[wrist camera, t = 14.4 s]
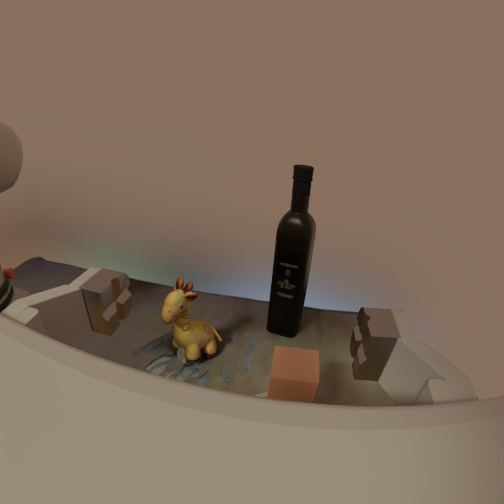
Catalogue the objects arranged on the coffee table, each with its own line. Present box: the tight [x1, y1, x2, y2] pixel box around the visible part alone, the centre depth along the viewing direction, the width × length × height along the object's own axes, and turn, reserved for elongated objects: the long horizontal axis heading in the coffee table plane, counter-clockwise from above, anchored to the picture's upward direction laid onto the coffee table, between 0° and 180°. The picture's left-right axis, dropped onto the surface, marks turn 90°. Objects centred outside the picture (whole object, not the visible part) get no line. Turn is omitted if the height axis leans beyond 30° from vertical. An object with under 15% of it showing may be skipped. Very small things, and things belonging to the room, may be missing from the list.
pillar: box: [267, 346, 319, 403], centre depth 29 cm, size 4×4×10 cm
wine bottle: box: [266, 165, 316, 337], centre depth 49 cm, size 6×6×30 cm
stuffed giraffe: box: [132, 278, 257, 389], centre depth 44 cm, size 16×18×16 cm
